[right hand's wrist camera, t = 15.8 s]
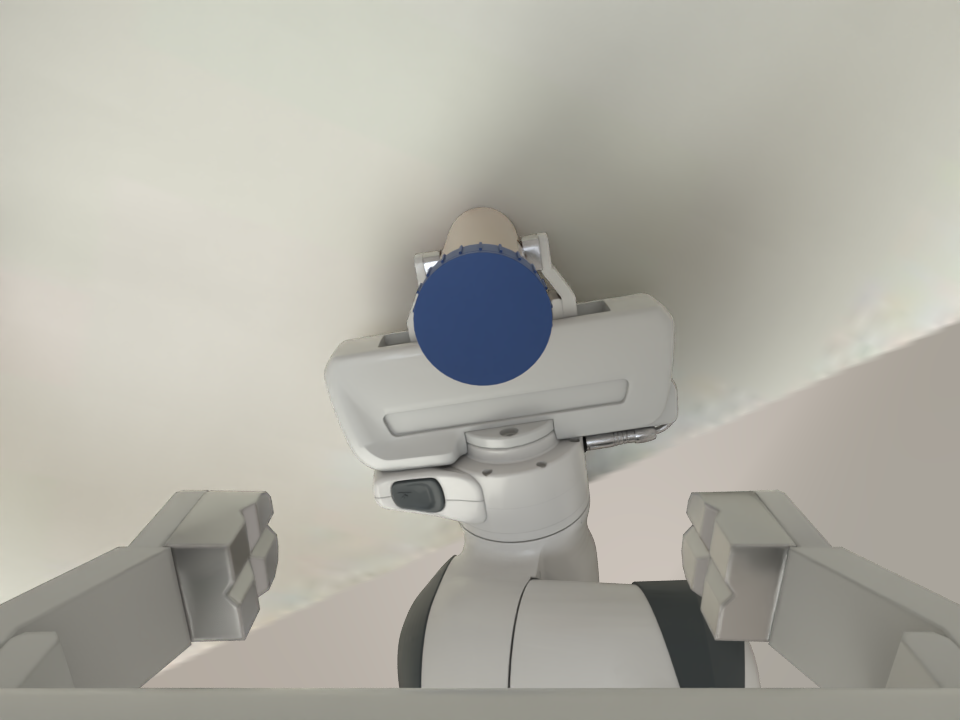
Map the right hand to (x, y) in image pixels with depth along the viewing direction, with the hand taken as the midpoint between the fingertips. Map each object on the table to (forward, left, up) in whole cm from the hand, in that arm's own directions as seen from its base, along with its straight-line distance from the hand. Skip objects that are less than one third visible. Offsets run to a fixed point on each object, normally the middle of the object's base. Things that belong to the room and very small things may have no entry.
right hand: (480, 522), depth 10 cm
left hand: (0, -1, -24) cm, 24 cm away
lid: (0, 0, -13) cm, 13 cm away
